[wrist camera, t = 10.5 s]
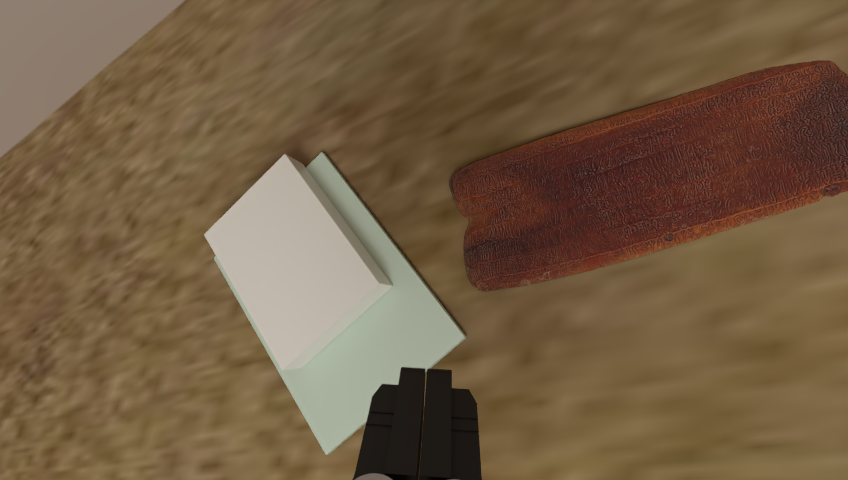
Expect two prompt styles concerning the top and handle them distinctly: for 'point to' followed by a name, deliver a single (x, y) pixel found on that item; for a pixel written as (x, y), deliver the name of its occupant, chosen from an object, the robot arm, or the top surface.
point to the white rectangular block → (295, 263)
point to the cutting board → (366, 329)
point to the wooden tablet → (656, 176)
